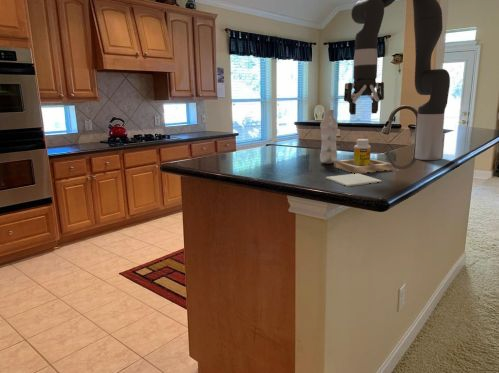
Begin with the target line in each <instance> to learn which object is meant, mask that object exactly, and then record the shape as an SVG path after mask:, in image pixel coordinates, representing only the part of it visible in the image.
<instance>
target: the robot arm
mask: <svg viewBox="0 0 499 373" xmlns="http://www.w3.org/2000/svg"><path fill="white" fill-rule="evenodd" d="M394 2H396V0H357V2H355V4H354V5H353V7H352V9H351V12H350V13H351V14H350V15H351V18H352V20H353V22H355V23H356V24H358V25H362V24H363V26H362V29H361V30H359V31H357V33H356V34H355V39H354V56H353V74H352V76H353V77H352V78H353V82H346V83H344V91H343V92H344V93H343V101H344V102H347V103H348V106H349V107H348V111H349V112H348V113H349V114H350V115H356V114H357V113H356V111H357V103H356V102H357V101H358V99H359V98H360V97H361V96H362V97H363V96H367V97H369V99H370V100H371V108H370V109H371V111H370V112H371V114H377V113H378V111H379V102H380V101H383V100H384V99H385V83H384V81H376V80H377V77H378V74H377V73H378V61H379V60H378V58H379V57H378V40H379V39H378V36H379V33H380V30H381V26H382V23H383V19H384V15H385V8H387V7H389V6H390V5H392V4H393V3H394ZM412 7H413V10H412V11H413V32H414V45H415V61H414V63H415V65H414V86H415V87H414V88H415V90H416V92H417V94H419V95H420V96H429V100H428V101H426V102H425V103H424V104H421V105H419V106H418V109H417V119H416V120H417V121H416V134H415V135H416V136H415V150H414V151H415V152H414V159H416V160H421V161H422V160H423V161H438V160H441V159H444V147H445V137H446V136H445V135H446V134H445V133H444V124H445V111H446V108H447V106H448V105H447V104H448V98H449V93H450V85H451V76H450V74H449V71H448V70H446V69H445V68H437V69H436V68H435V69H434V68H433V69H432V65H431V64H432V55H433V52H434V51H435V47H436V45H437V43H438V41H439V39H440V38H441V35H442V33H443V10H442V7H441V5H440V3H439V1H438V0H412ZM353 89H354V90H353ZM375 89H376V90H375Z"/></svg>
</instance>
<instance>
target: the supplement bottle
mask: <svg viewBox="0 0 499 373" xmlns="http://www.w3.org/2000/svg"><path fill="white" fill-rule="evenodd" d="M369 143H370V141H369V139H368V138H358V139H356V144H355V145H354V146H353V159H354V166H366V165H370V159H371V150H372V148H371V147H372V146H371V145H370V144H369Z"/></svg>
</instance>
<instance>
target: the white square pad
mask: <svg viewBox="0 0 499 373" xmlns="http://www.w3.org/2000/svg"><path fill="white" fill-rule="evenodd" d="M325 179H326V180H329V181H332V182H334V183H336V184H339V185H342V186H344V185H345V186H344V187H353V186H362V185H370V184H369V183H371V184H376V183H377V182H379V183H382V182H383V181H382V180H381V179H378V178H375V177H371V176H368V175H365V174H363V173H362V174H359V173H356V174H354V173H349V174H347V173H346V174H340V175H332V176H326V177H325Z"/></svg>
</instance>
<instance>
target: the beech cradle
mask: <svg viewBox="0 0 499 373" xmlns="http://www.w3.org/2000/svg"><path fill="white" fill-rule="evenodd" d="M333 168H335V169H338V168H339V170H341V169H342V171H345V172H349V173H351V172H352V173H351V174H354V173H355V174H356V173H359V174H362V175H363V174H368V173H367V172H370V173H377V172H376V171H379V172H385V171H384V170H387V171H392V163H390V162H386V161H383V160H379V159H373V158H370V165H366V166H354V158H352V159H341V160H337V161H334V163H333Z"/></svg>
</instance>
